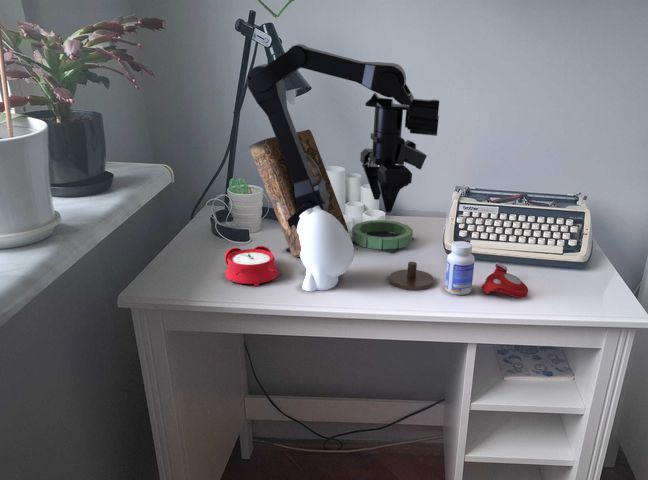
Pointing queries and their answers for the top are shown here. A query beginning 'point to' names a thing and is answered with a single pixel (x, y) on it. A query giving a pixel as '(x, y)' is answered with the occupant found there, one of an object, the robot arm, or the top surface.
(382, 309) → the top surface
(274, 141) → the book
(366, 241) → the ring
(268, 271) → the alarm clock
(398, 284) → the ring stand
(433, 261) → the top surface
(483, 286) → the tracker holder
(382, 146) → the robot arm
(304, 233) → the figurine
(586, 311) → the top surface
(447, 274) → the pill bottle
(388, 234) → the mat
